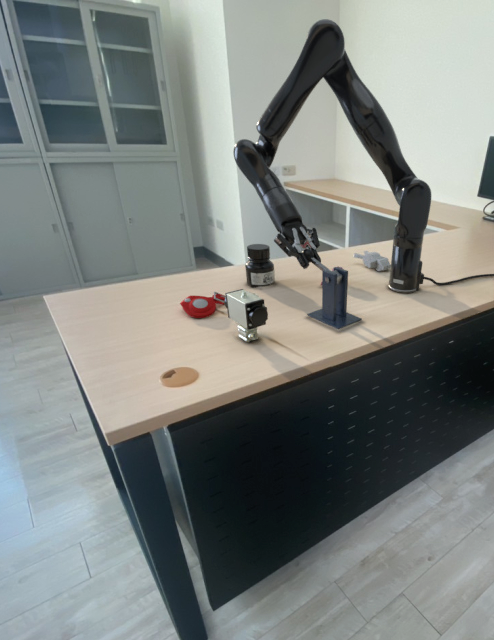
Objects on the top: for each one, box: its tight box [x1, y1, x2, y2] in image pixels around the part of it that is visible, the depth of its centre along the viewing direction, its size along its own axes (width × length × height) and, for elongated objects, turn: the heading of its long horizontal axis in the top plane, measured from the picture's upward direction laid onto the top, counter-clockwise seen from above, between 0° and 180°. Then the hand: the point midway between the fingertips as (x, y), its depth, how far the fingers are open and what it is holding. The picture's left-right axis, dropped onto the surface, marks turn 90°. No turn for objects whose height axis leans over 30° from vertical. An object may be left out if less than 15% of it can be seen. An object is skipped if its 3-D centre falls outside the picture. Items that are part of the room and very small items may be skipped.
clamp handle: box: [301, 248, 343, 284], centre depth 106 cm, size 14×4×4 cm, turn 48°
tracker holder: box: [179, 291, 226, 319], centre depth 111 cm, size 12×4×10 cm
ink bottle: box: [245, 243, 276, 289], centre depth 128 cm, size 10×9×12 cm
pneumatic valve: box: [223, 288, 269, 343], centre depth 96 cm, size 6×12×12 cm, turn 46°
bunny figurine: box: [352, 250, 391, 272], centre depth 152 cm, size 10×5×15 cm
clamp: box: [306, 266, 363, 330], centre depth 107 cm, size 12×9×14 cm
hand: (312, 265), depth 108 cm, fingers closed on clamp handle, 3 cm apart
